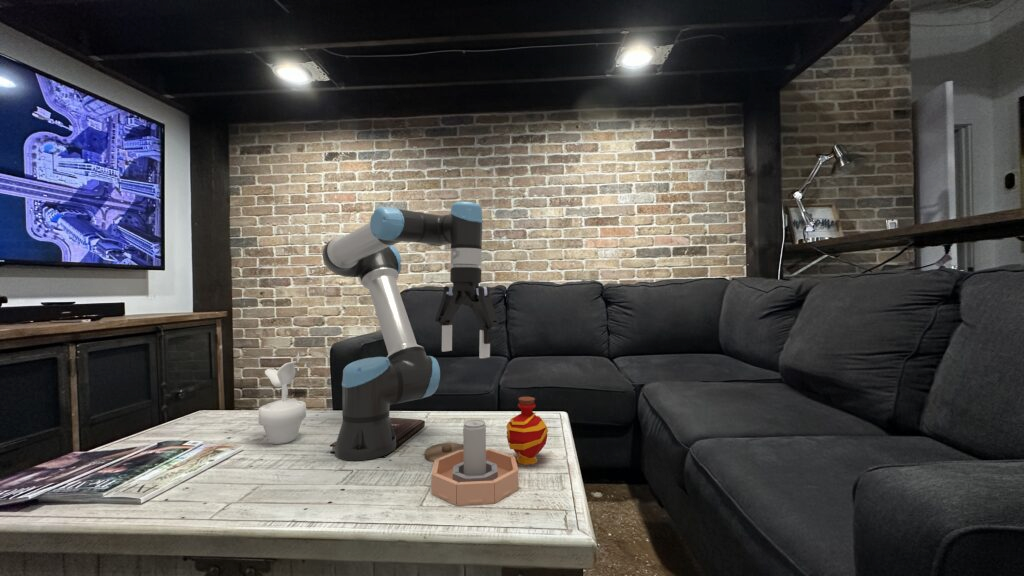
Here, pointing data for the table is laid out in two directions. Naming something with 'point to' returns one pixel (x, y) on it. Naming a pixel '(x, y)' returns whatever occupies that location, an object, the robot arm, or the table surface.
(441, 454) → the walnut lid
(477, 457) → the beverage can
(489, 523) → the table surface
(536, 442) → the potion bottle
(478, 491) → the dish
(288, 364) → the potted plant
